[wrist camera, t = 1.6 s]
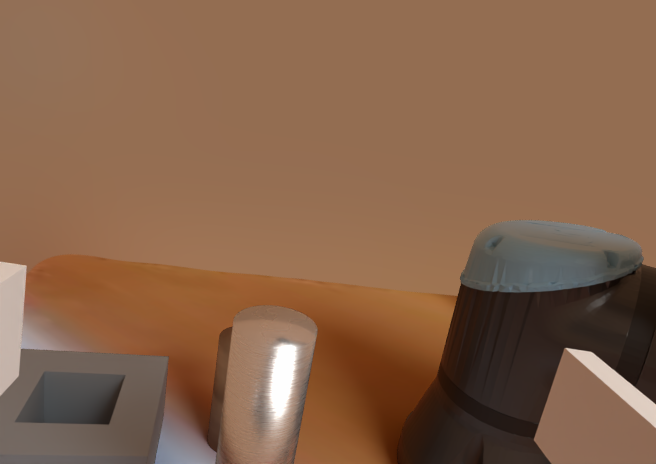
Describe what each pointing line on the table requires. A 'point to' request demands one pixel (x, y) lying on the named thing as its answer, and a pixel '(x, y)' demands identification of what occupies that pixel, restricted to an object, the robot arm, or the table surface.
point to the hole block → (83, 408)
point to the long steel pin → (265, 385)
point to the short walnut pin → (219, 387)
